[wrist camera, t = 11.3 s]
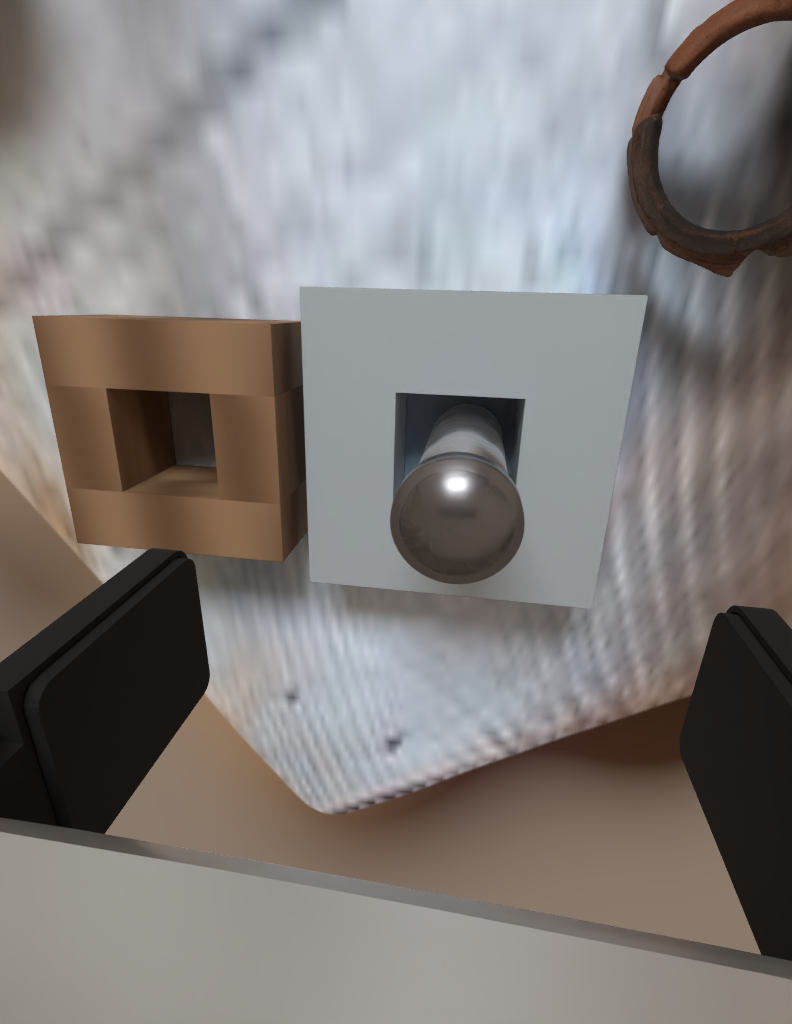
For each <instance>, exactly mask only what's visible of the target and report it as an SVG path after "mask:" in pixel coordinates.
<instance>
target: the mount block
mask: <svg viewBox="0 0 792 1024" xmlns="http://www.w3.org/2000/svg"><path fill="white" fill-rule="evenodd" d="M32 318H33V323H34V328H35V333H36V338H37V343H38V348H39V353H40V358H41V363H42V368H43V373H44V378H45V383H46V388H47V393H48V398H49V403H50V408H51V413H52V418H53V423H54V428H55V433H56V438H57V442H58V447H59V452H60V457H61V462H62V467H63V472H64V477H65V482H66V487H67V492H68V497H69V502H70V507H71V512H72V517H73V522H74V527H75V532H76V537H77V542H78V543H83V544H94V545H105V546H115V547H126V548H137V549H148V550H149V549H151V548H159V549H169V550H179V551H183V552H184V553H191V554H202V555H213V556H224V557H234V558H245V559H256V560H267V561H278V562H284V560H285V559H286V558H287V556H288V555H289V554H290V553H291V551H292V550H293V549H294V547H295V546H296V545H297V544H298V542H299V541H300V540H301V538H302V537H303V536H304V535H305V533H306V532H307V531H308V513H307V484H306V454H305V425H304V396H303V366H302V337H301V321H280V320H250V319H220V318H190V317H160V316H130V315H62V316H32ZM167 391H170V392H189V393H208V394H209V395H210V405H211V416H212V426H213V437H214V447H215V458H216V467H203V466H189V465H176V460H175V451H174V443H173V435H172V427H171V419H170V411H169V403H168V395H167Z"/></svg>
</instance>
